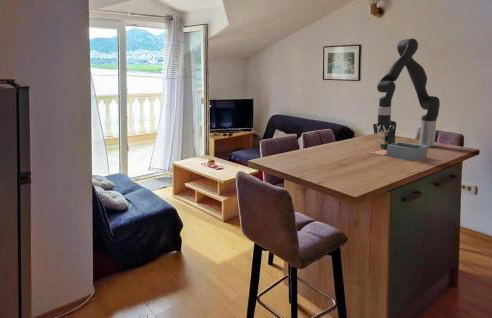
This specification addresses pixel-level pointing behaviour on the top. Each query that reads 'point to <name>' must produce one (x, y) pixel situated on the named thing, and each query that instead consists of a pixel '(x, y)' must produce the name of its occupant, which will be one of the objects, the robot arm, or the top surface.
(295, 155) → the top surface
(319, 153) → the top surface
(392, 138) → the coffee jar
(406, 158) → the box
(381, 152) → the terracotta mat
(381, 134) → the maple block
